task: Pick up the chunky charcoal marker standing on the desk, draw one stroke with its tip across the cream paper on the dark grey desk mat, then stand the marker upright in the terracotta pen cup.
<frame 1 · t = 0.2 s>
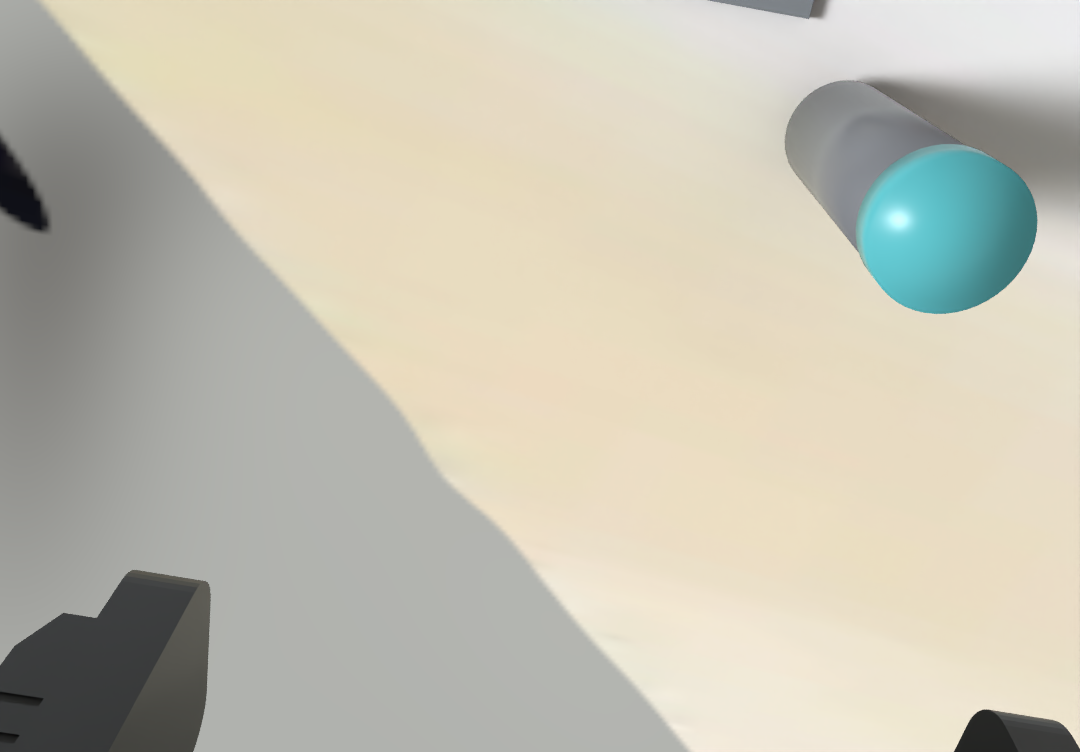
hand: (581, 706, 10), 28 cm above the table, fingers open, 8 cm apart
marker: (832, 129, 35), on the table
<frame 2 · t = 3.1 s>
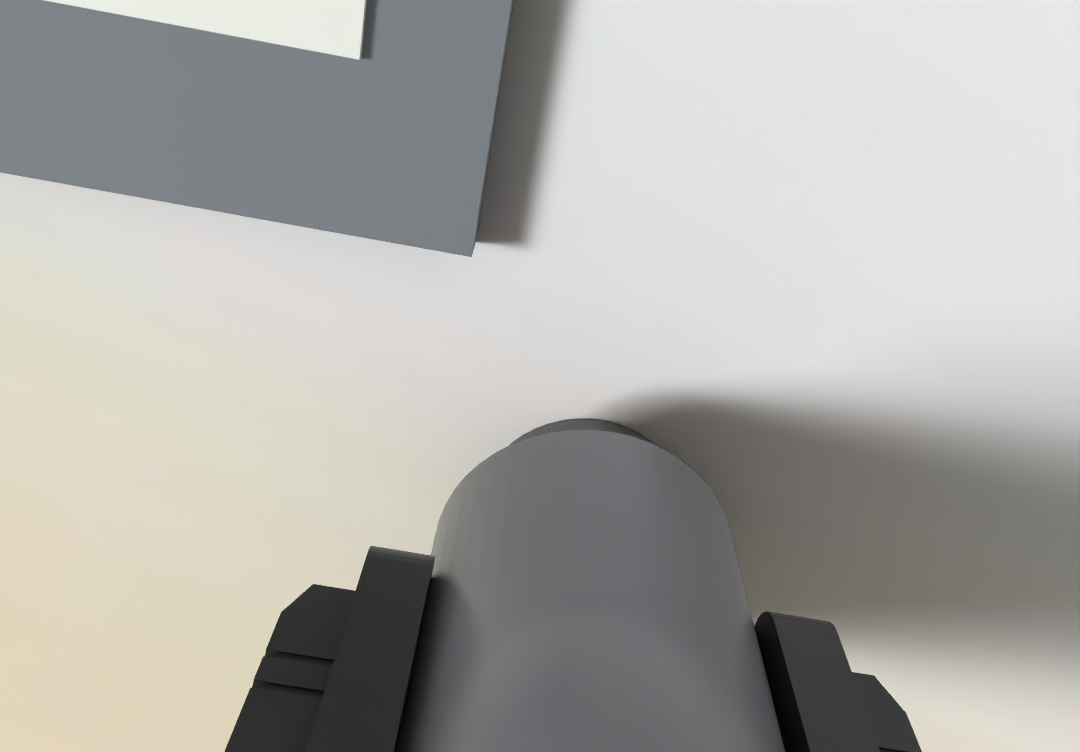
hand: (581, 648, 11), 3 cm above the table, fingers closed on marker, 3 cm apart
marker: (582, 508, 14), on the table, touching gripper
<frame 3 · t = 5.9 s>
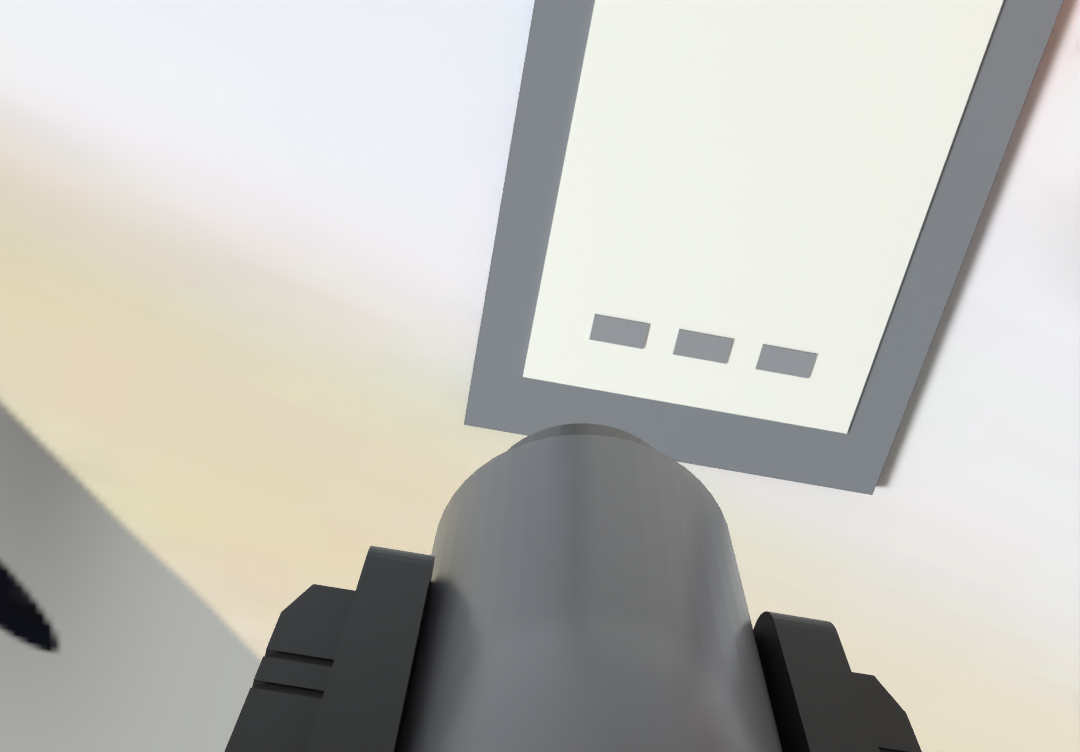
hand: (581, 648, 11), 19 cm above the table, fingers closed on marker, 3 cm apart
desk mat: (740, 192, 28), on the table
marker: (581, 512, 14), point 16 cm above the table, touching gripper
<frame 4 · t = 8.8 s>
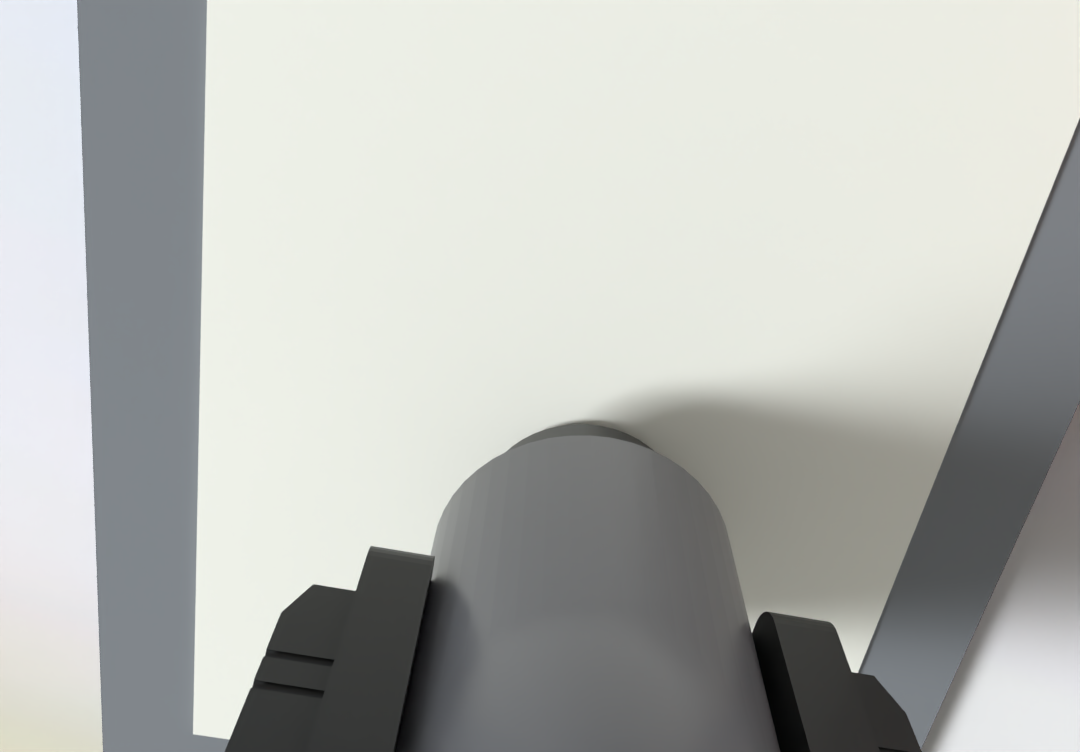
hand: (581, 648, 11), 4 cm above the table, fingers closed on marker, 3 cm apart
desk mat: (570, 415, 14), on the table
marker: (580, 513, 14), point 1 cm above the table, touching gripper
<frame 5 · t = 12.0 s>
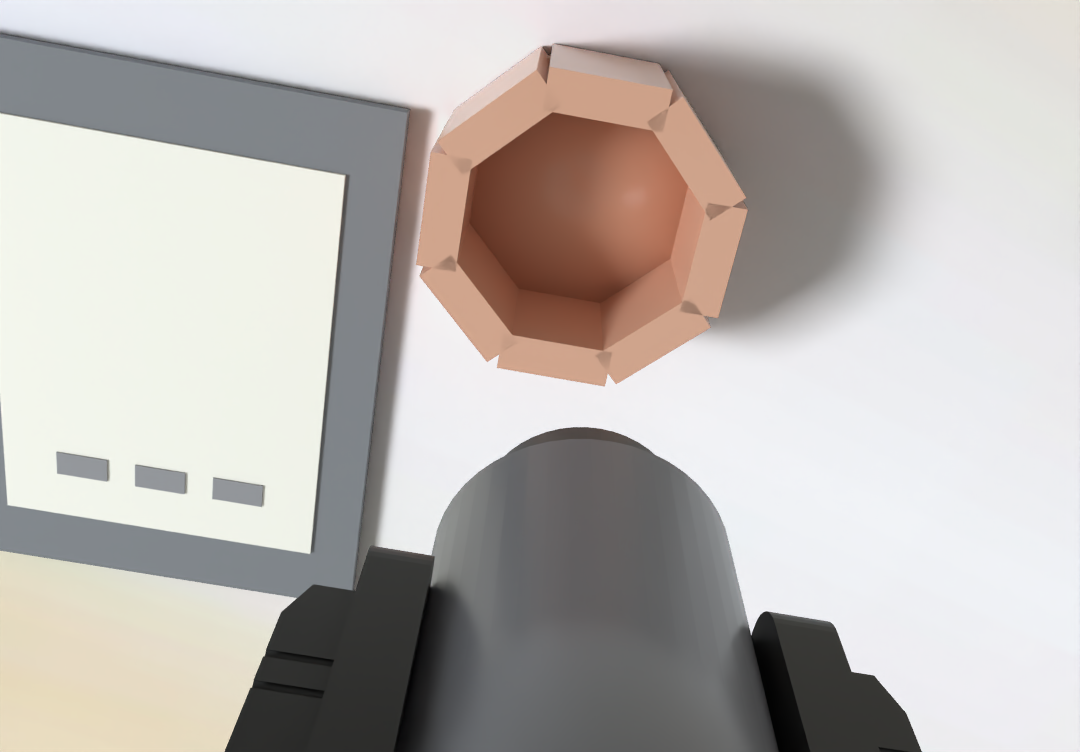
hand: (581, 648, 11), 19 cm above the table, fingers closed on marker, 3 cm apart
pen cup: (578, 194, 28), on the table
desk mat: (169, 346, 31), on the table
marker: (580, 515, 14), point 16 cm above the table, touching gripper
when the fingers open (5 cm above the table, at t = 14.8 s): marker drops 2 cm, resting on pen cup.
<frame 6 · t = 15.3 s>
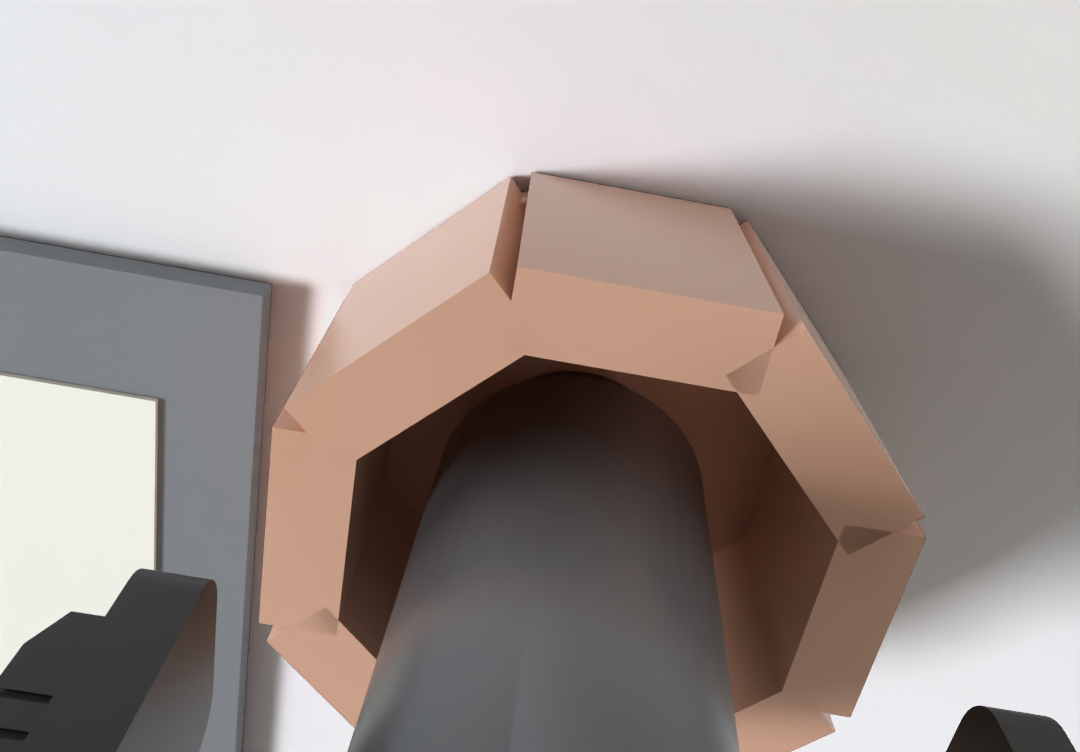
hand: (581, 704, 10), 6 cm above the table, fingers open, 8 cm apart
pen cup: (578, 426, 16), on the table
marker: (572, 452, 15), point 1 cm above the table, touching pen cup
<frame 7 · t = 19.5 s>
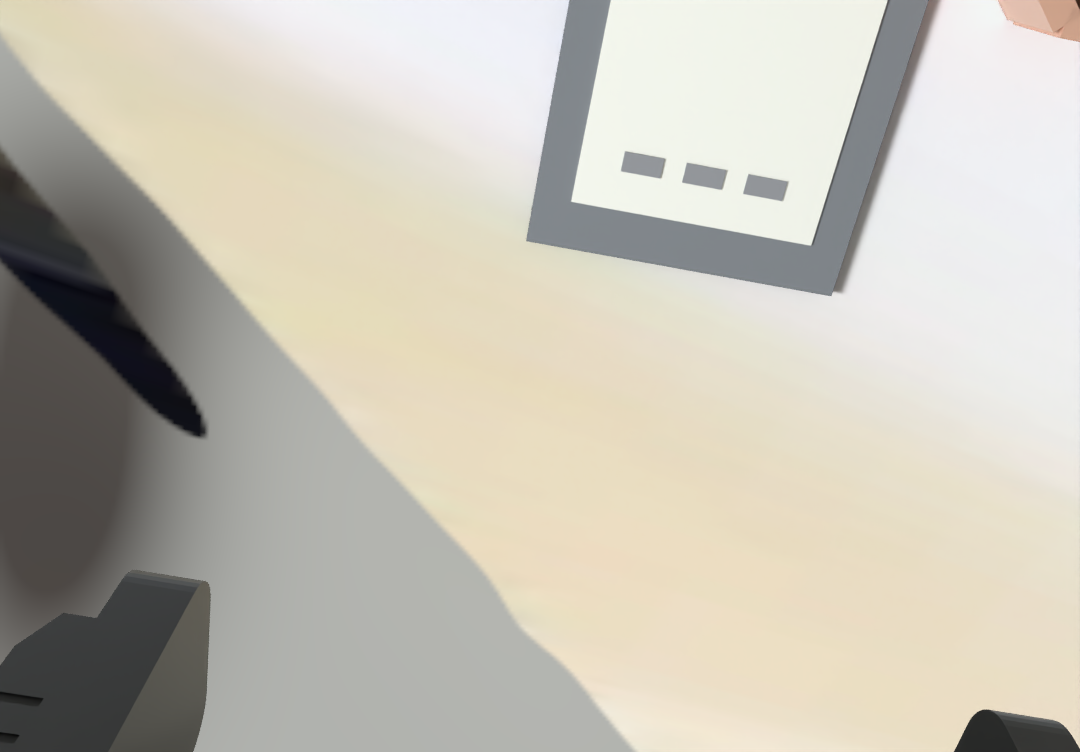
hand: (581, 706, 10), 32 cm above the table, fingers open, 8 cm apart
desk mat: (731, 58, 38), on the table
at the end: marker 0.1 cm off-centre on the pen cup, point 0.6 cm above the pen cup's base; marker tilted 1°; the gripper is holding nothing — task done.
